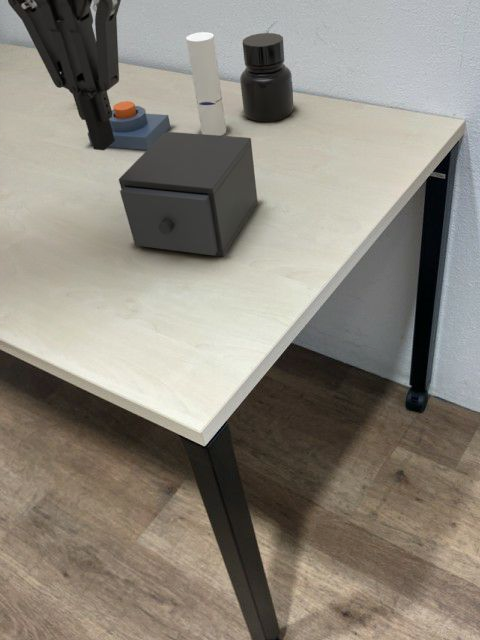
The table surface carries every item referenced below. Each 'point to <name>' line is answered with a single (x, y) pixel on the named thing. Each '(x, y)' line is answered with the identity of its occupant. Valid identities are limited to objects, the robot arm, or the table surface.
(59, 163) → the table surface
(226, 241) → the grey drawer cabinet
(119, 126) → the button block
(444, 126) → the table surface
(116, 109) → the button
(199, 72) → the tube
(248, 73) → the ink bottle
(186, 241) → the open drawer with knob
